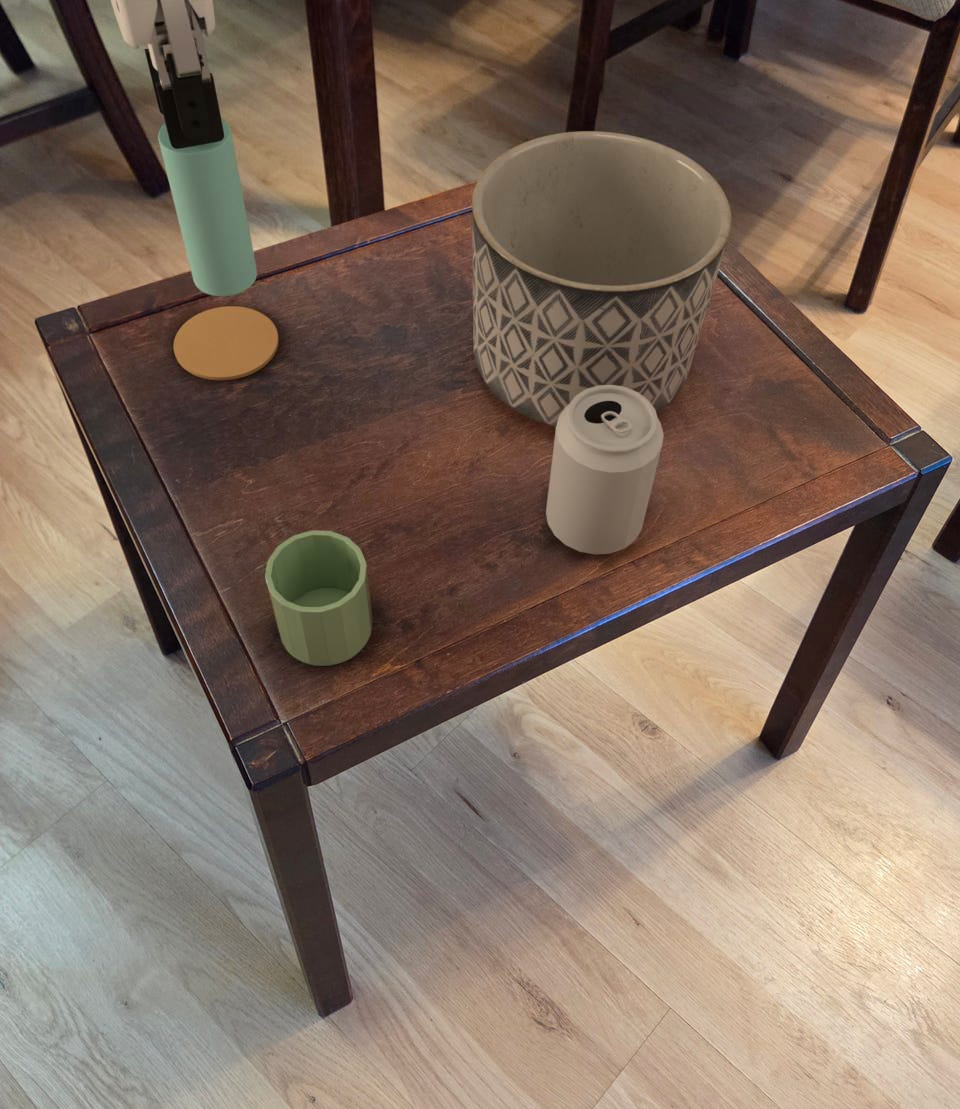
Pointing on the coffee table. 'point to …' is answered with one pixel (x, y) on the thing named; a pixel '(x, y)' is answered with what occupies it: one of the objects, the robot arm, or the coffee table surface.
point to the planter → (592, 268)
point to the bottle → (210, 211)
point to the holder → (320, 597)
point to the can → (603, 469)
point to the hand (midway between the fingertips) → (191, 123)
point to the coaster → (226, 343)
